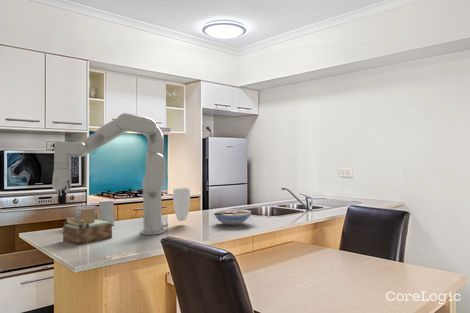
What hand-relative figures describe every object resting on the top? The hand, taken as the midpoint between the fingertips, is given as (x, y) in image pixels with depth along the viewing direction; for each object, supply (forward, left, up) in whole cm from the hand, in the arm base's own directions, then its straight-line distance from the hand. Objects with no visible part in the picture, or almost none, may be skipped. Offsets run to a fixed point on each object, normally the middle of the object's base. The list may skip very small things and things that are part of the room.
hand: (61, 203), depth 177 cm
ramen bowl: (-78, +47, -18) cm, 93 cm away
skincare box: (-33, -12, -18) cm, 40 cm away
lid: (-6, +12, -10) cm, 17 cm away
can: (-23, -16, -18) cm, 33 cm away
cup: (-59, +24, -18) cm, 66 cm away
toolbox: (-6, +12, -17) cm, 22 cm away
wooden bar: (0, +12, -9) cm, 15 cm away
